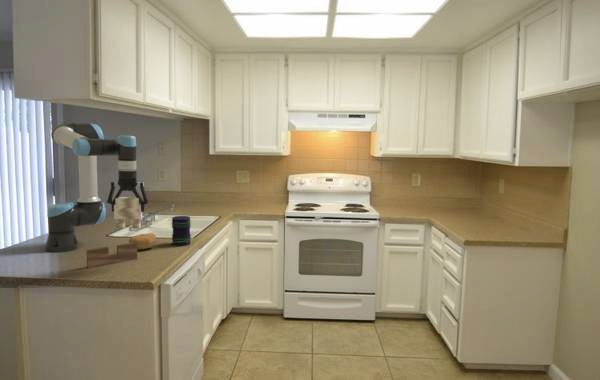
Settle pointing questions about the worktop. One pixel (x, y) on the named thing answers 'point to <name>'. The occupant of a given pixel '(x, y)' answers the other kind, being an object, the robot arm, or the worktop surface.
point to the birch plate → (127, 212)
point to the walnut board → (103, 258)
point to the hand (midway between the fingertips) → (128, 218)
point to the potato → (144, 240)
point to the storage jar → (181, 230)
